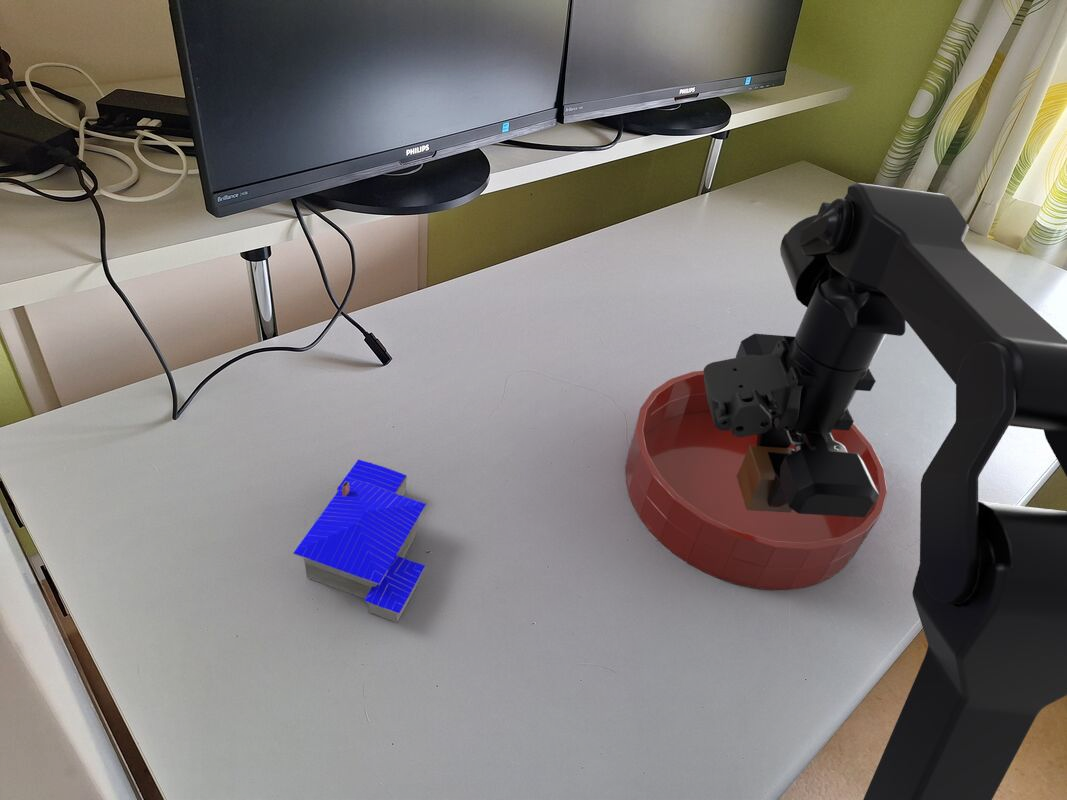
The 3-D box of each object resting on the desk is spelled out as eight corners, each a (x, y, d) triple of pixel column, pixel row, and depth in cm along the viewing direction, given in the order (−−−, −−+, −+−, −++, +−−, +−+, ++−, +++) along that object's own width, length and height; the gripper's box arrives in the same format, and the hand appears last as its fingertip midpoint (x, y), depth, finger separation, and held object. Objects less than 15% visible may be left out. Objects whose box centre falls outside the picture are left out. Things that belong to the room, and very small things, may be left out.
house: (462, 510, 75) (465, 472, 72) (399, 628, 65) (399, 590, 61) (359, 476, 77) (357, 437, 74) (282, 585, 67) (275, 546, 63)
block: (778, 478, 69) (793, 448, 67) (790, 512, 66) (806, 482, 64) (736, 476, 69) (749, 445, 66) (746, 510, 66) (760, 479, 63)
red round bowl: (910, 534, 80) (938, 493, 76) (733, 631, 69) (755, 589, 64) (746, 389, 96) (762, 348, 91) (579, 448, 84) (589, 405, 80)
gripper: (704, 270, 63) (662, 408, 73) (760, 426, 49) (698, 570, 59) (833, 281, 64) (773, 416, 74) (923, 437, 50) (834, 576, 60)
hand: (767, 486), depth 67 cm, fingers closed on block, 4 cm apart
